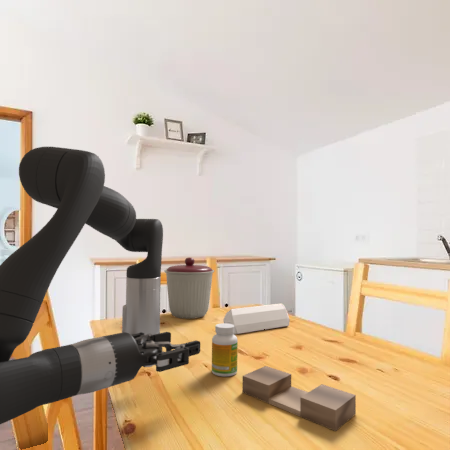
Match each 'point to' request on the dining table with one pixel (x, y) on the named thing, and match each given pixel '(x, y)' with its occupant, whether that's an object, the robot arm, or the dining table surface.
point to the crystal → (257, 318)
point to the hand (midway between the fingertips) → (183, 341)
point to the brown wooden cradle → (300, 397)
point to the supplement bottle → (224, 350)
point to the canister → (189, 289)
